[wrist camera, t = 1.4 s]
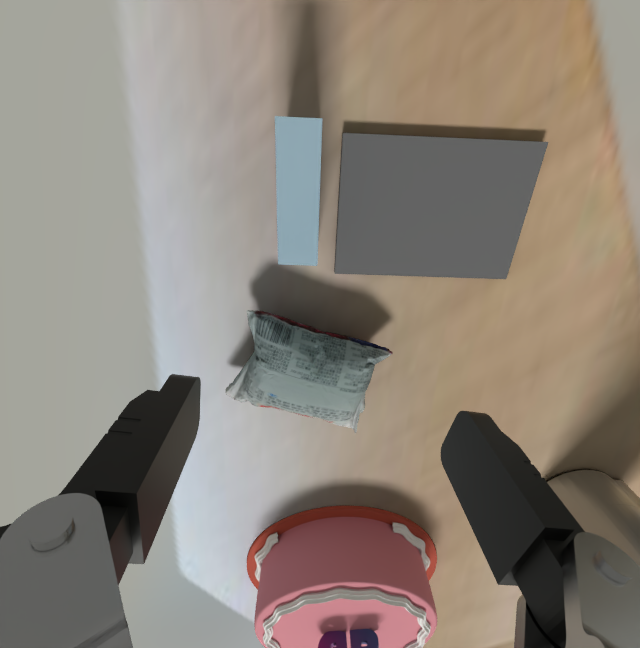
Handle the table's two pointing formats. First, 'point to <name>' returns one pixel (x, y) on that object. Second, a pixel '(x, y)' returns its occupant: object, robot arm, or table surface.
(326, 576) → the cake
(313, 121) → the block
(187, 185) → the table surface
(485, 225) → the mat
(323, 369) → the packaged food
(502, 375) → the table surface
